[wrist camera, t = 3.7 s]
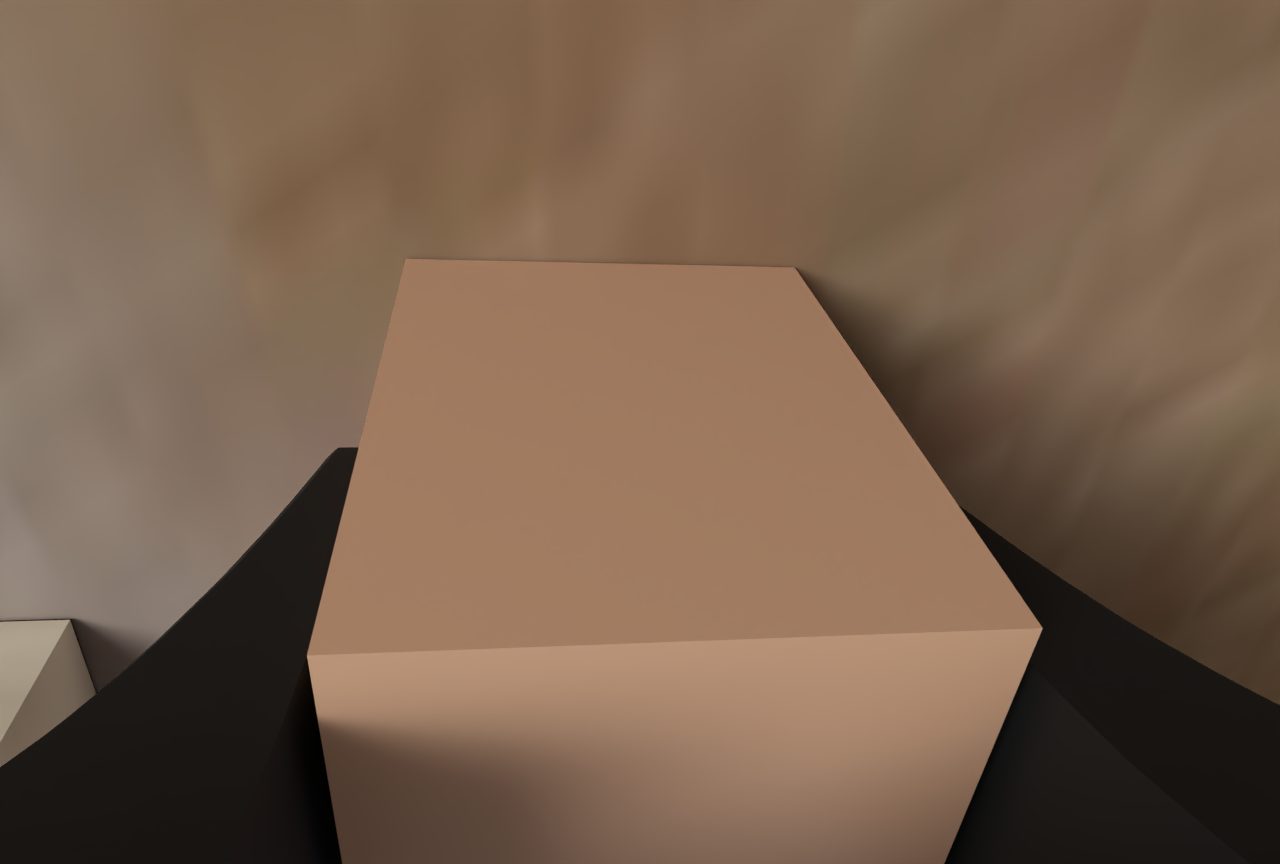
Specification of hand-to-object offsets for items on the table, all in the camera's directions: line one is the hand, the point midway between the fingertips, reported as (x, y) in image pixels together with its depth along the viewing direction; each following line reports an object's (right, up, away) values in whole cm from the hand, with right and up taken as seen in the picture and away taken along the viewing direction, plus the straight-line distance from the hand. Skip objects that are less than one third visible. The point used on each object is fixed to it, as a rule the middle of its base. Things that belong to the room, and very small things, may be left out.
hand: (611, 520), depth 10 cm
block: (0, +1, +2) cm, 2 cm away
